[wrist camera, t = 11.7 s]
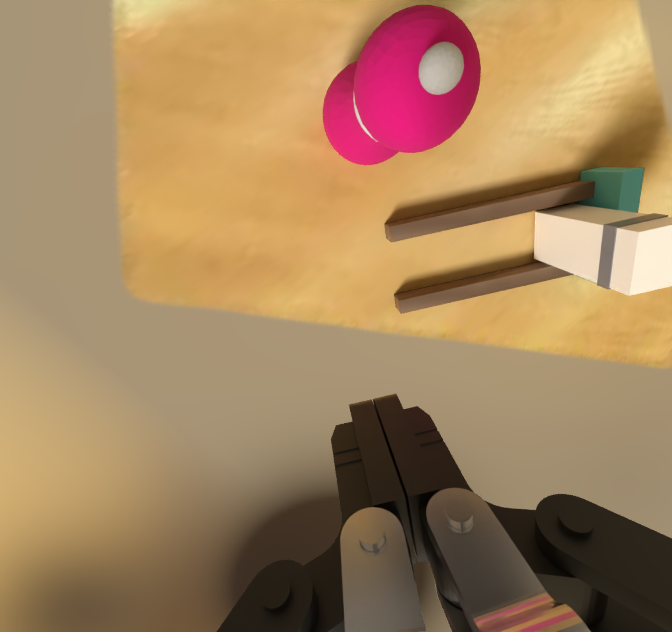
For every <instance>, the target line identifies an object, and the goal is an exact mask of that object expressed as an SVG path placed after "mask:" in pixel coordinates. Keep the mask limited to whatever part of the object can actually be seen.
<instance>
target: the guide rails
mask: <svg viewBox="0 0 672 632" xmlns="http://www.w3.org/2000/svg"><path fill="white" fill-rule="evenodd" d="M594 190H595V181H576V182H572V183H567V184H563V185H558V186H553V187H549V188H544V189H540V190H535V191H531V192H526V193H522V194H517V195H513V196H508V197H504V198H499V199H494V200H490V201H485V202H481V203H476V204H472V205H467V206H463V207H458V208H454V209H449V210H445V211H440V212H435V213H431V214H426V215H422V216H417V217H413V218H408V219H404V220H399V221H395V222H390V223H386V224H385V231H386V238H387V239H388V240H389V241H390V242H395V241H400V240H404V239H409V238H413V237H418V236H422V235H427V234H431V233H436V232H440V231H445V230H449V229H454V228H458V227H463V226H467V225H472V224H476V223H481V222H485V221H490V220H494V219H499V218H503V217H508V216H513V215H517V214H522V213H526V212H531V211H535V210H540V209H544V208H549V207H553V206H558V205H562V204H567V203H571V202H576V201H580V200H585V199H589V198H594ZM569 275H573V274H572V273H570V272H567V271H564V270H562V269H559V268H557V267H554V266H552V265H549V264H546V263H544V262H541V261H540V262H535V263H531V264H526V265H522V266H517V267H513V268H509V269H504V270H500V271H495V272H491V273H486V274H482V275H478V276H473V277H469V278H464V279H460V280H456V281H451V282H447V283H442V284H438V285H433V286H429V287H425V288H420V289H416V290H411V291H407V292H402V293H398V294H394V297H395V304H396V308H397V309H398V310H399V312H400V313H401V314H402V313H406V312H411V311H415V310H420V309H424V308H428V307H433V306H437V305H442V304H446V303H450V302H455V301H459V300H464V299H468V298H472V297H477V296H481V295H485V294H490V293H494V292H499V291H503V290H507V289H512V288H516V287H521V286H525V285H529V284H534V283H538V282H543V281H547V280H551V279H556V278H560V277H564V276H569Z"/></svg>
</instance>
